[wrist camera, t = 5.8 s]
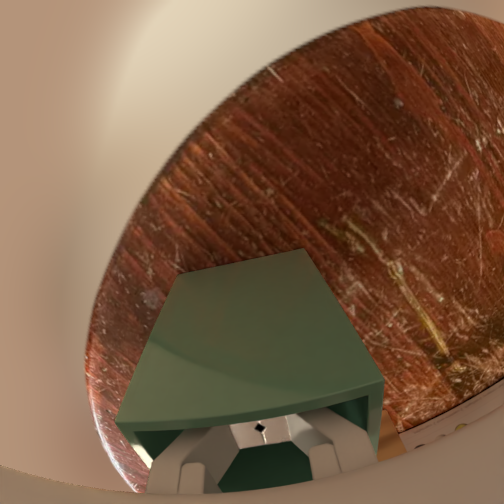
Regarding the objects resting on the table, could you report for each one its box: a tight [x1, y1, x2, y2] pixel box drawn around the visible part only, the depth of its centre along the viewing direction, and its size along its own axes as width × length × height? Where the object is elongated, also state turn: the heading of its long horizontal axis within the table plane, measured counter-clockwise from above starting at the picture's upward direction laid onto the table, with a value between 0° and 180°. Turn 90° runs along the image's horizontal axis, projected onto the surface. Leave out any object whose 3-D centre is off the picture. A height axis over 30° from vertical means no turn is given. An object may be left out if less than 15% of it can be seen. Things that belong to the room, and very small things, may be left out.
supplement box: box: [399, 379, 504, 452], centre depth 18 cm, size 17×13×9 cm
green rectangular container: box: [115, 248, 385, 493], centre depth 12 cm, size 12×7×12 cm
